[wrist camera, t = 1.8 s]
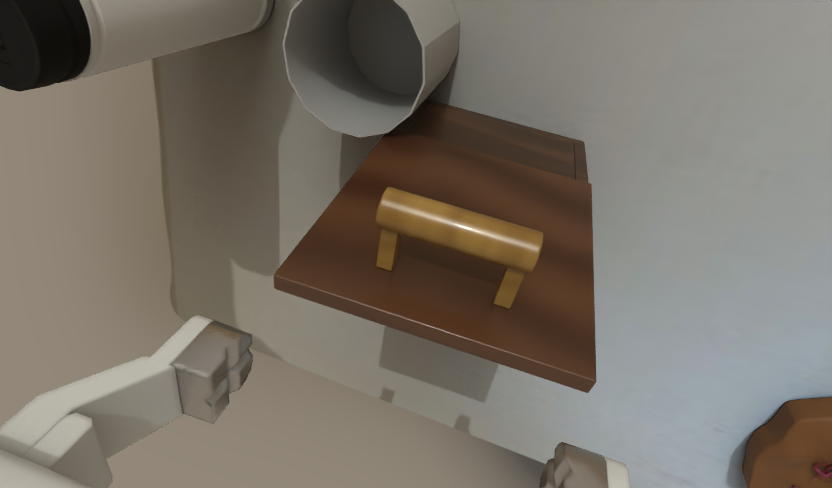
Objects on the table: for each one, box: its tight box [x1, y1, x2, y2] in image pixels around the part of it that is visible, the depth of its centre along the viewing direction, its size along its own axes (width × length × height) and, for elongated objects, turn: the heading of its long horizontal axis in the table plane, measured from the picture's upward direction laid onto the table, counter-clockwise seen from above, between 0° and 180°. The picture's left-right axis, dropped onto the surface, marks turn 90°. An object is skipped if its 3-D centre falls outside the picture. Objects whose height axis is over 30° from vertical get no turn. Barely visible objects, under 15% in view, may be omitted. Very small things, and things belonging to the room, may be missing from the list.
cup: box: [282, 0, 460, 138], centre depth 30 cm, size 8×8×10 cm
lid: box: [274, 128, 596, 393], centre depth 22 cm, size 14×13×4 cm
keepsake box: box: [394, 99, 588, 183], centre depth 36 cm, size 14×13×8 cm
